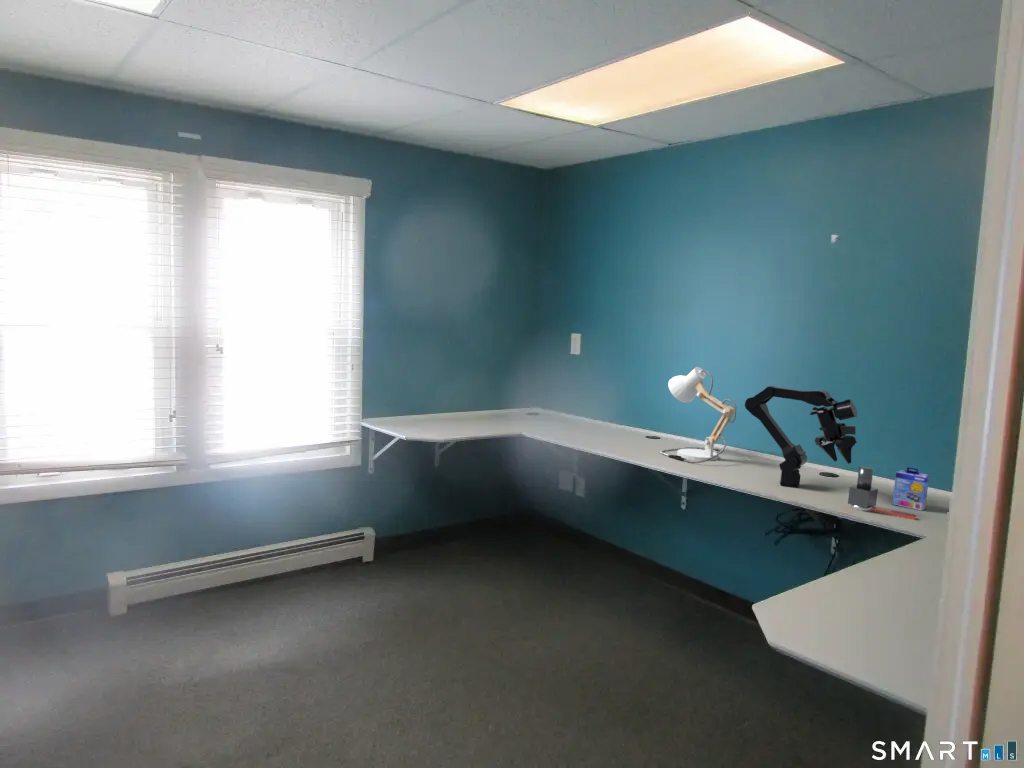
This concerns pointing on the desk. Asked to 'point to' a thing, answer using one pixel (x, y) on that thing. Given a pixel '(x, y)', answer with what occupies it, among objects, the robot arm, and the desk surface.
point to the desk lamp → (686, 392)
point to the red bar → (887, 512)
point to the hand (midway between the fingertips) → (842, 462)
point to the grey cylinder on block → (863, 490)
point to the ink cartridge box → (910, 489)
